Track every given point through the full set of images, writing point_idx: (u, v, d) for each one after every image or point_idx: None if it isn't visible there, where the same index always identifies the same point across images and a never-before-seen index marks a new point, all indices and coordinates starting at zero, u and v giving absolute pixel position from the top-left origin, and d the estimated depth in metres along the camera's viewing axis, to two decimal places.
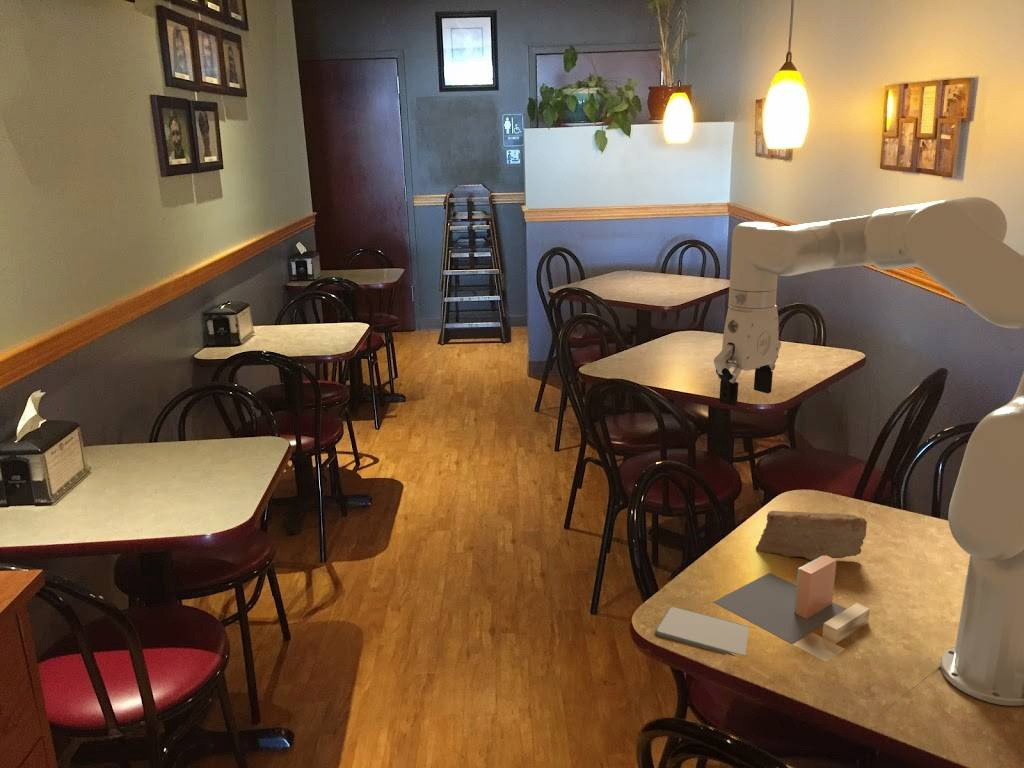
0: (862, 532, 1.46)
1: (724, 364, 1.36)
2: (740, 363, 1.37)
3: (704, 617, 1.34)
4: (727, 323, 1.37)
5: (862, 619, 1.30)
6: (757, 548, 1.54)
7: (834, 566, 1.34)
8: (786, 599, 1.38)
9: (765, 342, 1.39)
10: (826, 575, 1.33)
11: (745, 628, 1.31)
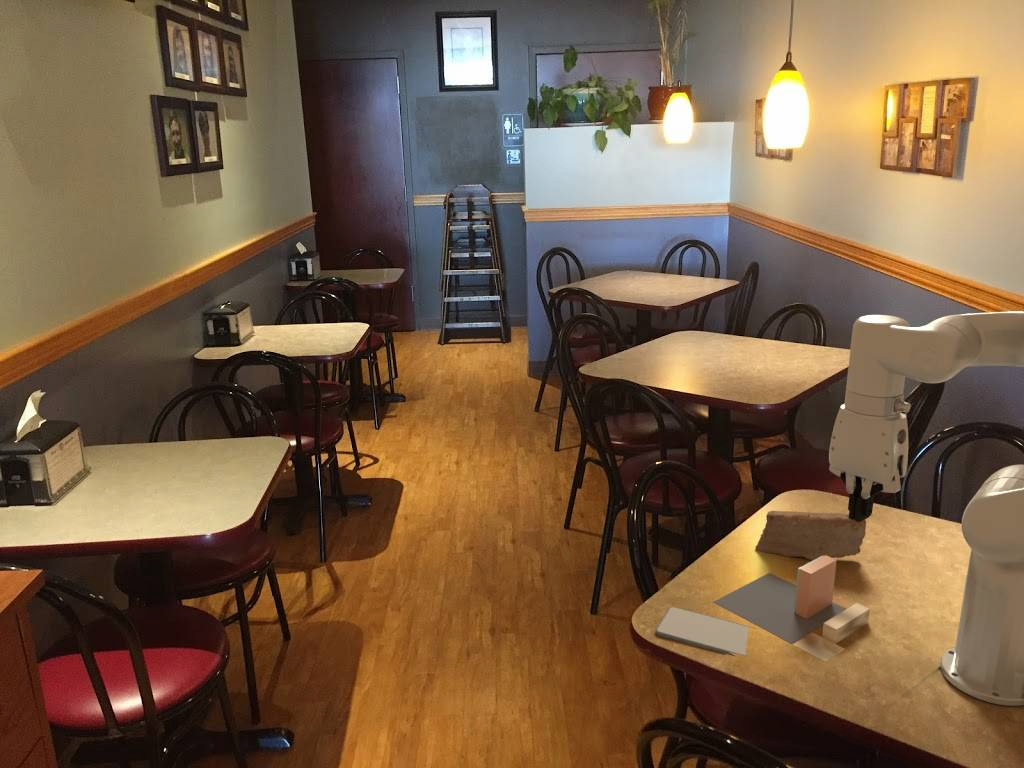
0: (861, 531, 1.46)
1: None
2: (905, 471, 1.20)
3: (704, 617, 1.34)
4: (895, 436, 1.17)
5: (862, 619, 1.30)
6: (756, 548, 1.54)
7: (834, 566, 1.34)
8: (786, 599, 1.38)
9: None
10: (826, 575, 1.33)
11: (745, 628, 1.31)
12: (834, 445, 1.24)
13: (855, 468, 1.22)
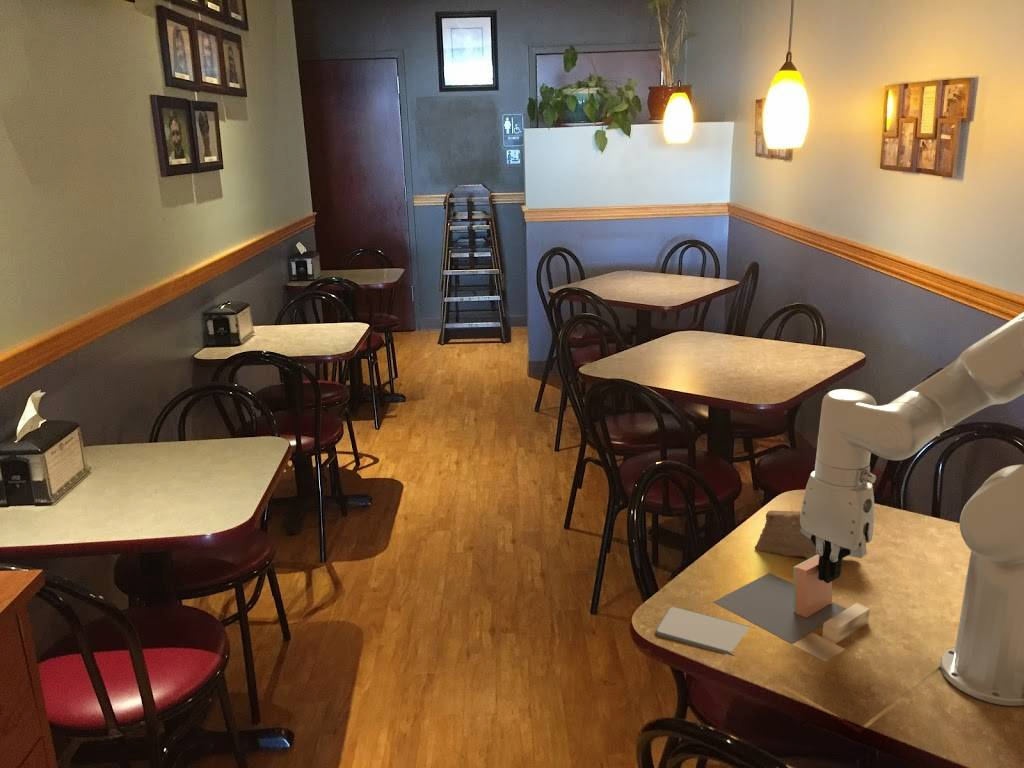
0: None
1: None
2: (871, 537, 1.27)
3: (704, 617, 1.34)
4: (861, 506, 1.23)
5: (862, 619, 1.30)
6: (756, 548, 1.54)
7: None
8: (786, 599, 1.38)
9: None
10: None
11: (745, 628, 1.31)
12: (805, 510, 1.30)
13: (824, 533, 1.28)
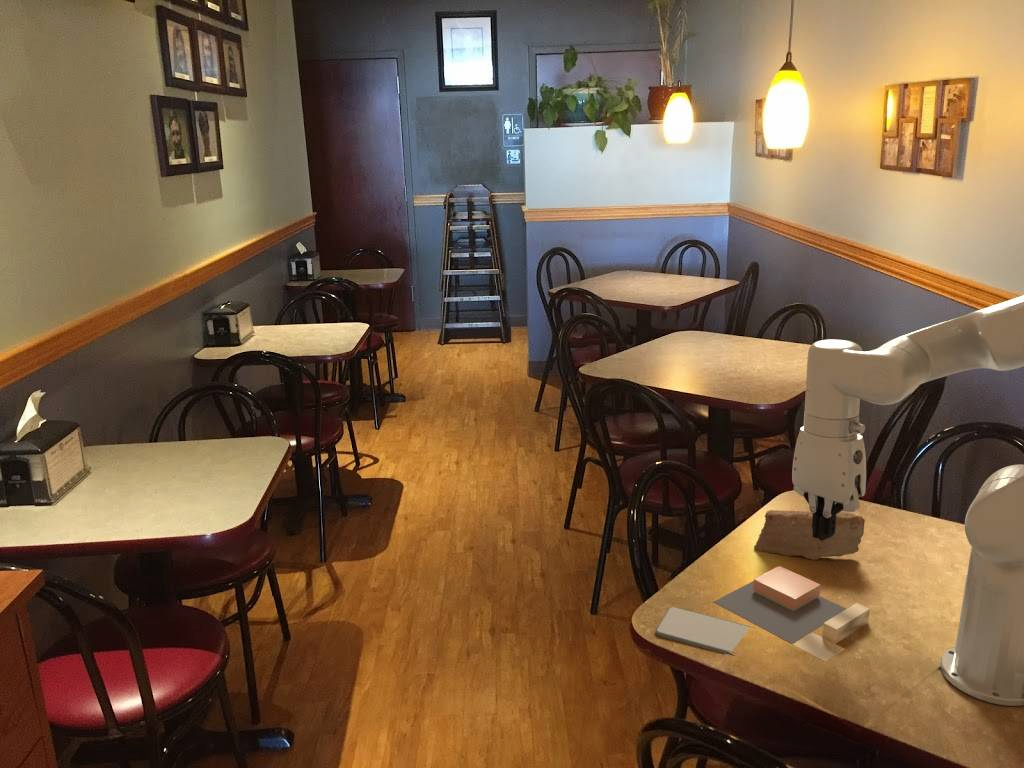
0: (860, 530, 1.46)
1: None
2: (864, 491, 1.24)
3: (704, 617, 1.34)
4: (851, 457, 1.21)
5: (862, 619, 1.30)
6: (755, 548, 1.54)
7: (782, 568, 1.43)
8: None
9: None
10: (779, 574, 1.41)
11: (745, 628, 1.31)
12: (796, 466, 1.28)
13: (816, 488, 1.26)
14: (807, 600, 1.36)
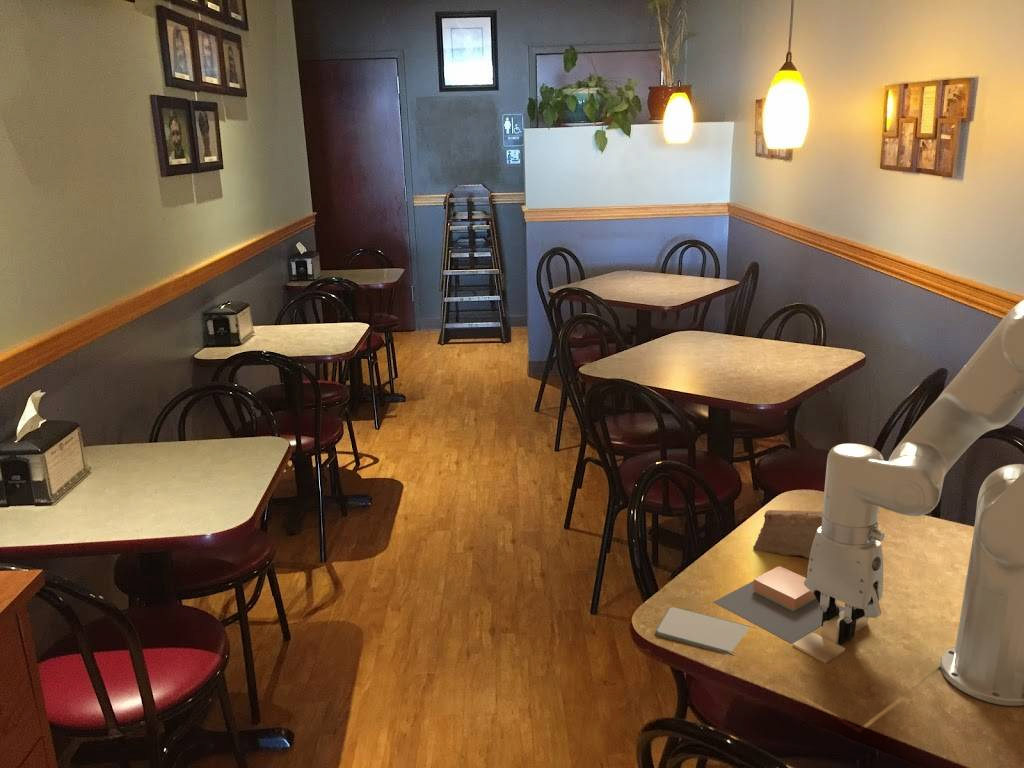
0: None
1: None
2: (881, 595, 1.23)
3: (704, 617, 1.34)
4: (870, 564, 1.20)
5: (862, 618, 1.30)
6: (754, 548, 1.54)
7: (782, 568, 1.43)
8: None
9: None
10: (779, 574, 1.41)
11: (745, 628, 1.31)
12: (812, 566, 1.27)
13: (832, 591, 1.25)
14: (807, 600, 1.36)
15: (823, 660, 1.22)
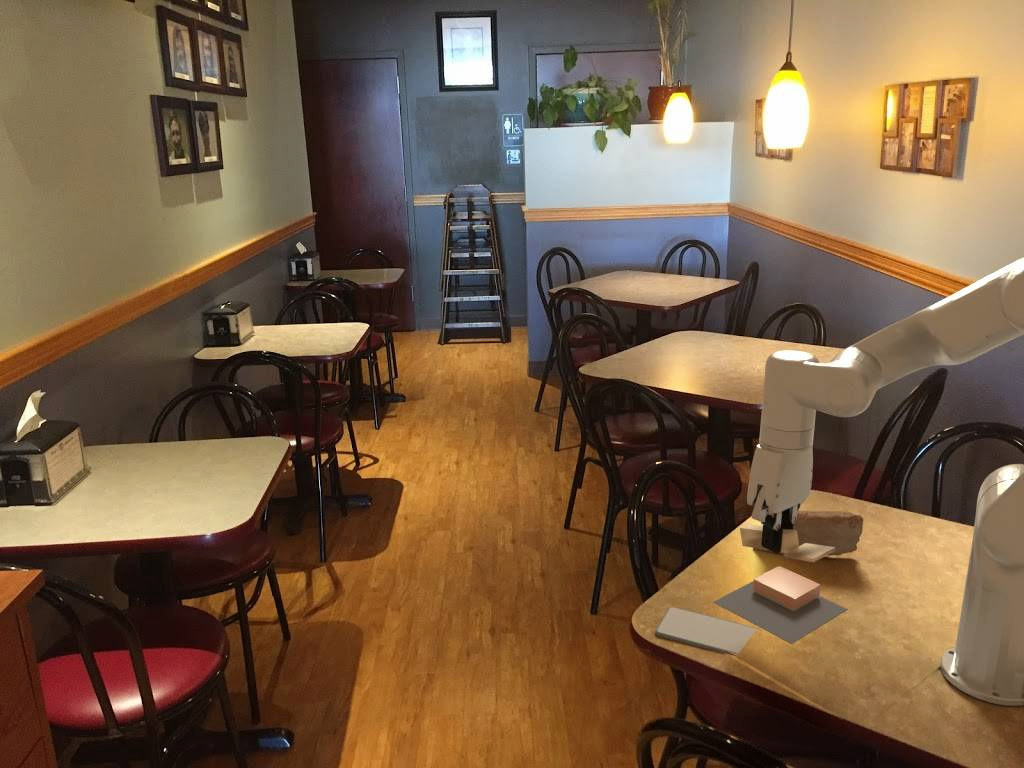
0: (858, 529, 1.47)
1: None
2: None
3: (704, 617, 1.34)
4: None
5: None
6: None
7: (782, 568, 1.43)
8: None
9: None
10: (779, 574, 1.41)
11: (745, 628, 1.31)
12: (778, 492, 1.22)
13: (792, 501, 1.25)
14: (807, 600, 1.36)
15: (833, 548, 1.24)
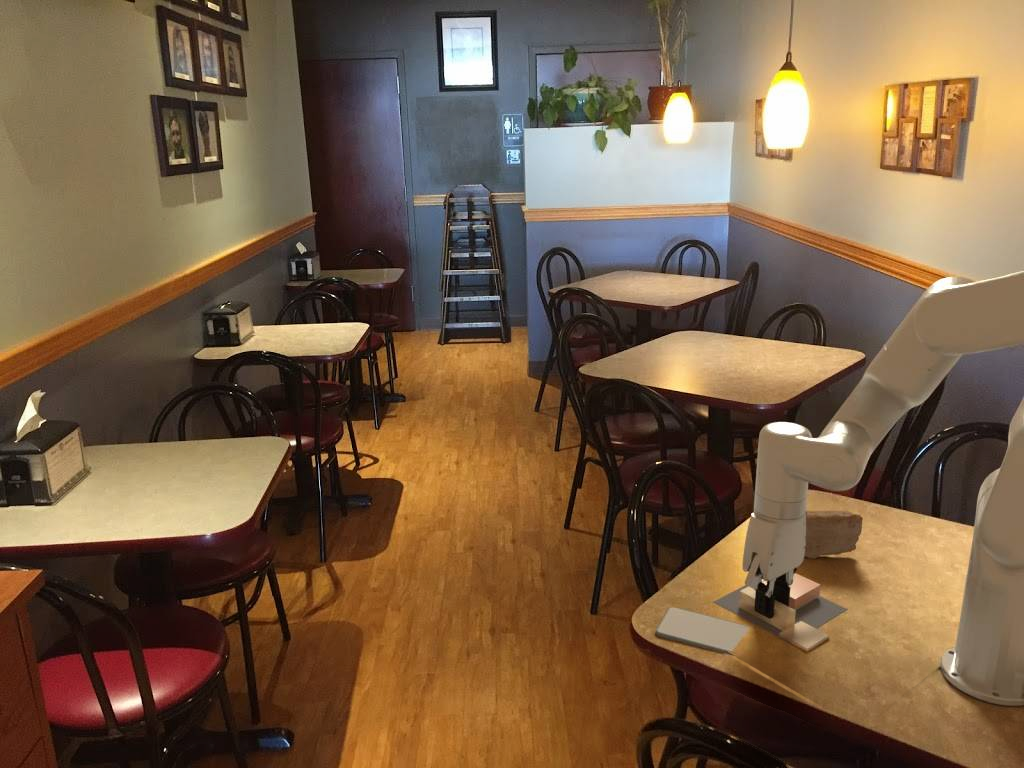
0: (858, 528, 1.47)
1: None
2: None
3: (704, 617, 1.34)
4: None
5: None
6: None
7: None
8: None
9: None
10: None
11: (745, 628, 1.31)
12: (772, 560, 1.25)
13: (786, 567, 1.28)
14: (807, 600, 1.36)
15: (827, 637, 1.27)
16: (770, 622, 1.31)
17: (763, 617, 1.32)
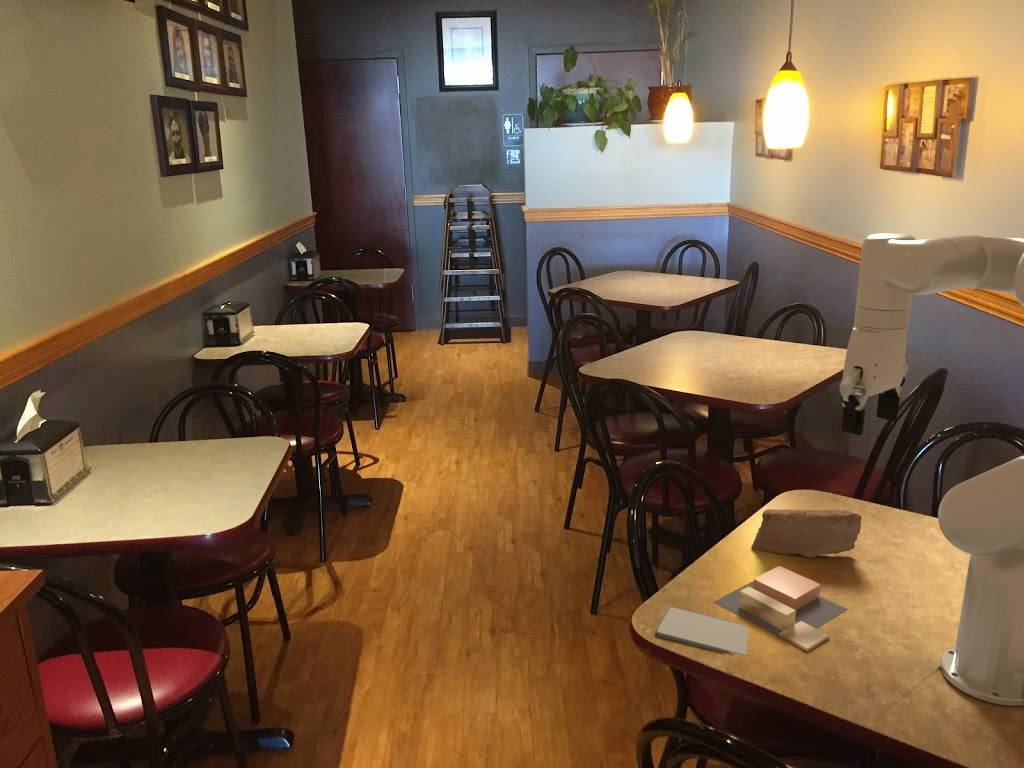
0: (857, 527, 1.47)
1: None
2: None
3: (704, 617, 1.34)
4: None
5: None
6: (753, 547, 1.55)
7: (782, 568, 1.43)
8: None
9: None
10: (779, 574, 1.41)
11: (745, 627, 1.31)
12: (875, 372, 1.23)
13: (887, 384, 1.26)
14: (807, 600, 1.36)
15: (827, 637, 1.27)
16: (770, 622, 1.31)
17: (763, 617, 1.32)
